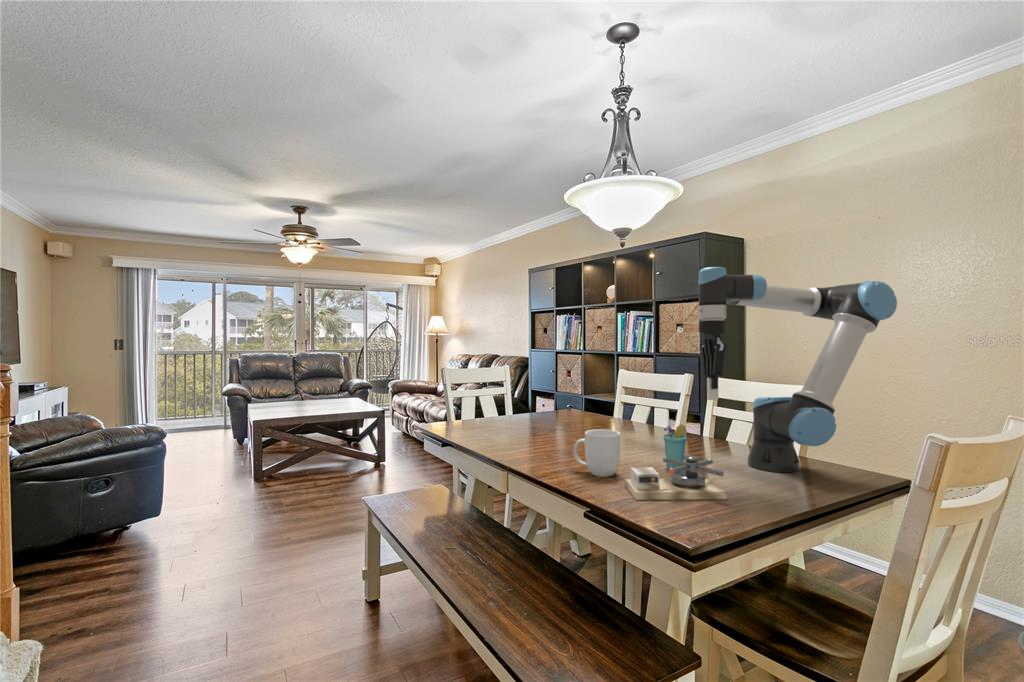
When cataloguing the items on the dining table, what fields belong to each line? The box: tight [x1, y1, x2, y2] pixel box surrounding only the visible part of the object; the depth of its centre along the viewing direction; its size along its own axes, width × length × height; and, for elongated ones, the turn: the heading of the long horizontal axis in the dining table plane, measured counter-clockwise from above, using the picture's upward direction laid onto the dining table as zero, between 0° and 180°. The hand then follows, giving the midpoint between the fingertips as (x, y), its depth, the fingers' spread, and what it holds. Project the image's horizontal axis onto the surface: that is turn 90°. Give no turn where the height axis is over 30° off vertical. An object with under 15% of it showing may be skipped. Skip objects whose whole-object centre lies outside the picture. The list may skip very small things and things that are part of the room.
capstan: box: [662, 454, 724, 488], centre depth 134 cm, size 19×19×7 cm
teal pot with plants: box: [662, 424, 688, 471], centre depth 157 cm, size 14×8×15 cm, turn 140°
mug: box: [573, 428, 621, 478], centre depth 153 cm, size 15×11×13 cm
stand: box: [624, 466, 728, 501], centre depth 134 cm, size 24×12×6 cm, turn 91°
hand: (712, 399), depth 144 cm, fingers closed
